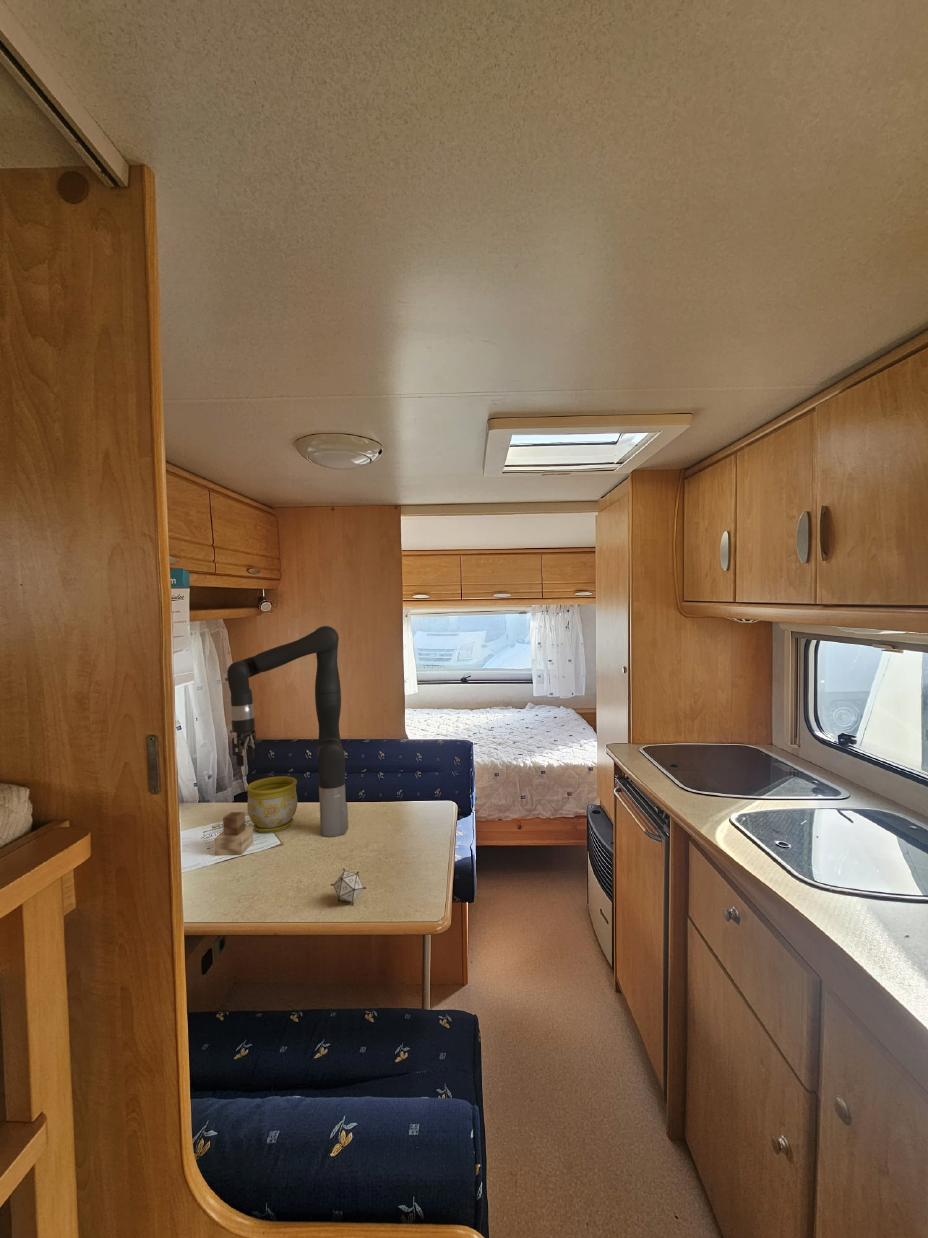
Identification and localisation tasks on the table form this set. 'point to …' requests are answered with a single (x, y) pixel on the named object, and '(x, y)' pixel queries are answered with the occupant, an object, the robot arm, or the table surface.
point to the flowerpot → (272, 803)
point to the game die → (348, 886)
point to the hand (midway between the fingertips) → (245, 762)
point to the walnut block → (234, 823)
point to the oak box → (233, 843)
